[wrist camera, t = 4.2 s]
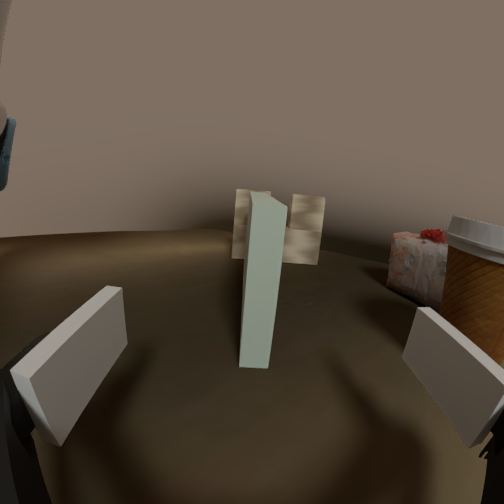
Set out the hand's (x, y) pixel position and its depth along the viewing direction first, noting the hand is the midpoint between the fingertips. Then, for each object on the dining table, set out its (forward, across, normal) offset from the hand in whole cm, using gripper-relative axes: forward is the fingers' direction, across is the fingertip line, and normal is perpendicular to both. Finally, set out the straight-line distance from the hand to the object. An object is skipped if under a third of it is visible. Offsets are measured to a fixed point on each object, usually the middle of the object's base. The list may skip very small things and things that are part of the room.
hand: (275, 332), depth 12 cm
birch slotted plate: (+36, +4, -6) cm, 37 cm away
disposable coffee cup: (+4, +17, -7) cm, 19 cm away
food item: (+21, +24, -7) cm, 32 cm away
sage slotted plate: (+18, 0, -6) cm, 19 cm away
